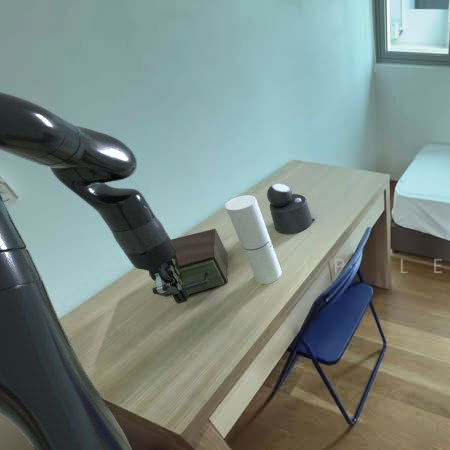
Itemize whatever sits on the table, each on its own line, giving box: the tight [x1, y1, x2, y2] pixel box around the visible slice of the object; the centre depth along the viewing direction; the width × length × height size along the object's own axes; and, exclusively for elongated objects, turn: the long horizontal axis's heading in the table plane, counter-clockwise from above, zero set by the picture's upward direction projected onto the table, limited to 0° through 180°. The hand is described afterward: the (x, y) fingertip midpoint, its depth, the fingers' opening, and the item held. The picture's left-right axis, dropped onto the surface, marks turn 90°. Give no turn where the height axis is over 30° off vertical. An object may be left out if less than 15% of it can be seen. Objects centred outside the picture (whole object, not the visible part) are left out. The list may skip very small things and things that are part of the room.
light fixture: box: [266, 183, 316, 235], centre depth 108 cm, size 13×16×14 cm
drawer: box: [180, 259, 225, 296], centre depth 86 cm, size 18×11×8 cm, turn 25°
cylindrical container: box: [224, 194, 283, 285], centre depth 83 cm, size 7×7×25 cm
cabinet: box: [170, 228, 228, 284], centre depth 89 cm, size 15×13×10 cm
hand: (183, 300), depth 71 cm, fingers closed
